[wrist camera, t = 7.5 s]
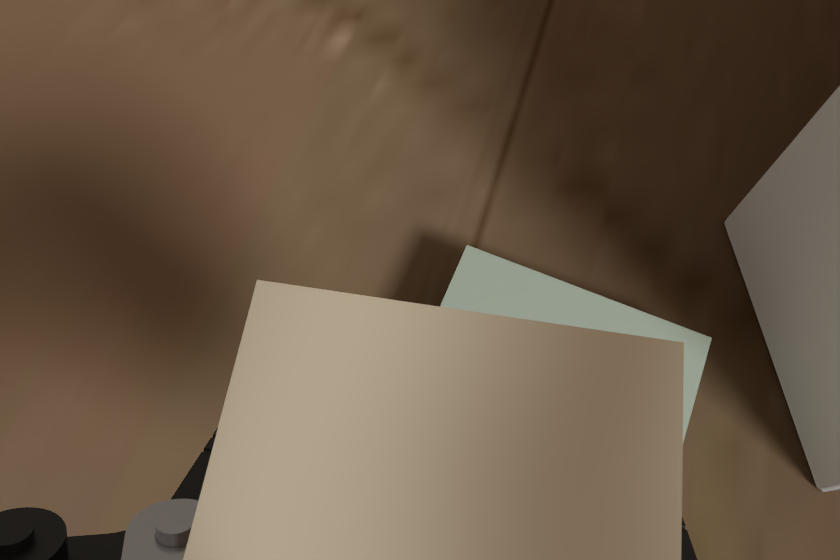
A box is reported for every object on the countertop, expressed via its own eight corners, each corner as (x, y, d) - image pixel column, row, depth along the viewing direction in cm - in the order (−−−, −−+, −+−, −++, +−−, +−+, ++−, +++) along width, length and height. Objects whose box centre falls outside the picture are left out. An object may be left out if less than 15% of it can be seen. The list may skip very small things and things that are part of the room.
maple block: (292, 672, 16) (125, 777, 7) (338, 442, 18) (257, 280, 9) (522, 712, 16) (676, 879, 6) (543, 475, 18) (684, 343, 8)
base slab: (367, 493, 31) (362, 482, 28) (461, 276, 35) (466, 244, 32) (614, 601, 30) (638, 603, 27) (683, 362, 34) (712, 337, 31)
